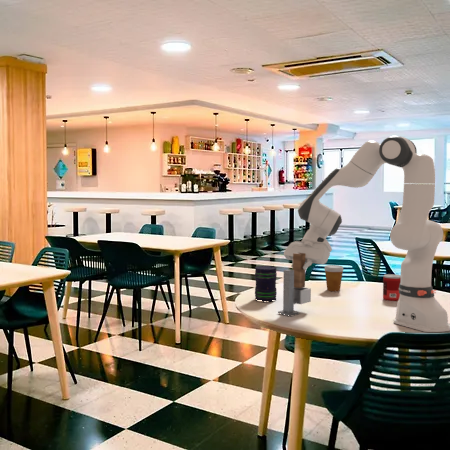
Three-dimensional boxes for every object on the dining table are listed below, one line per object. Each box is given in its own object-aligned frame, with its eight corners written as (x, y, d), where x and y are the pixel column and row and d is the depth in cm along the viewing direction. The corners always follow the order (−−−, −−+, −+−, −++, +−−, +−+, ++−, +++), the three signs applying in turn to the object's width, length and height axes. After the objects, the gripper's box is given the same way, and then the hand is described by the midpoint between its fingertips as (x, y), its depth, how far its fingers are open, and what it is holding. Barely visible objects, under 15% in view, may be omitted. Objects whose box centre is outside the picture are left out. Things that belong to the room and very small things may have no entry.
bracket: (296, 308, 221) (297, 266, 220) (310, 311, 216) (311, 268, 215) (277, 313, 211) (277, 270, 210) (290, 316, 206) (291, 272, 205)
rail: (297, 285, 218) (298, 252, 217) (304, 286, 215) (305, 253, 214) (292, 286, 215) (293, 253, 214) (299, 288, 213) (300, 254, 212)
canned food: (404, 299, 237) (405, 276, 236) (392, 301, 233) (393, 277, 232) (391, 296, 244) (391, 273, 243) (379, 298, 240) (379, 275, 239)
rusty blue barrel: (258, 302, 231) (258, 269, 230) (252, 298, 241) (252, 266, 239) (279, 301, 233) (279, 268, 232) (272, 297, 243) (272, 265, 242)
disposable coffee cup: (345, 289, 260) (346, 265, 259) (339, 292, 252) (340, 268, 251) (327, 287, 265) (328, 264, 264) (321, 290, 257) (321, 266, 256)
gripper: (289, 236, 226) (275, 260, 220) (329, 240, 212) (315, 266, 205) (295, 245, 229) (281, 269, 223) (335, 249, 215) (321, 276, 209)
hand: (298, 268), depth 214 cm, fingers closed on rail, 4 cm apart
